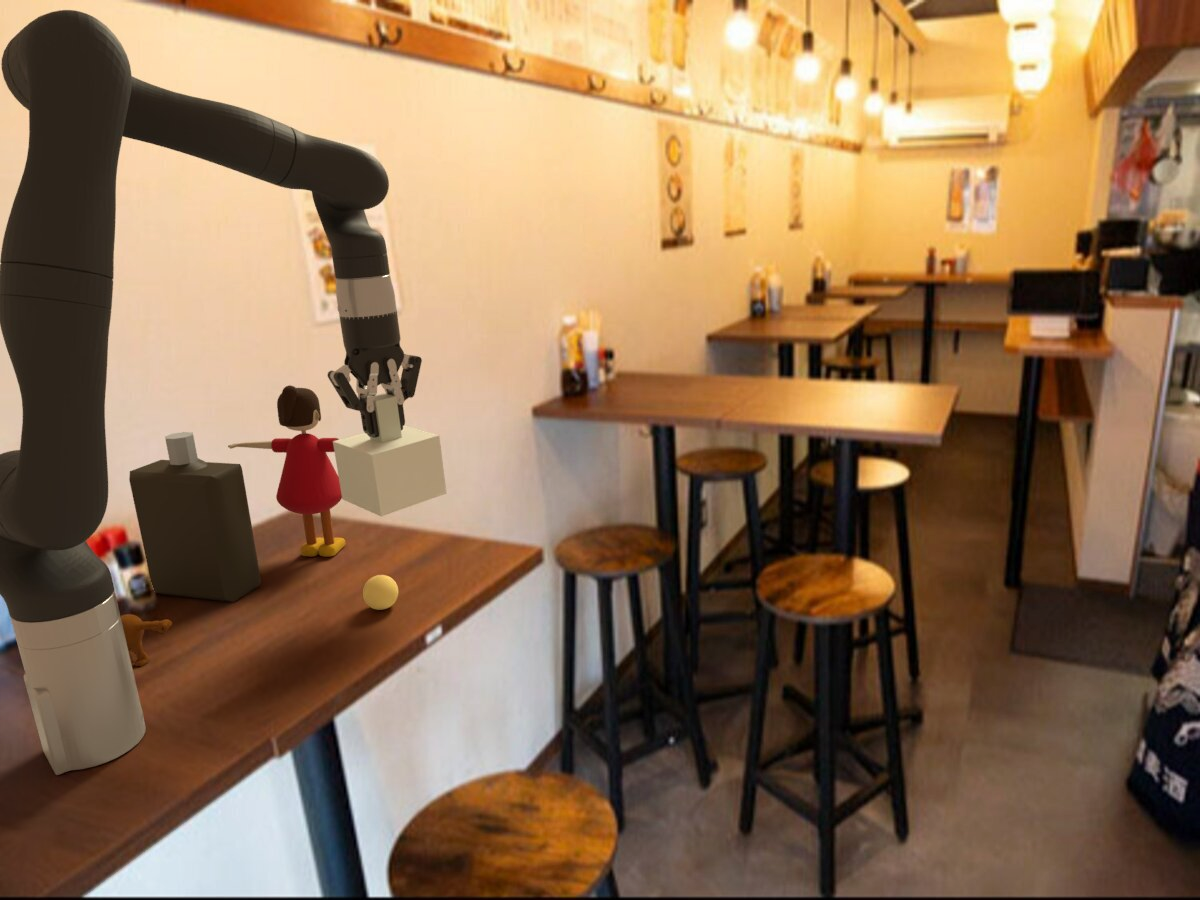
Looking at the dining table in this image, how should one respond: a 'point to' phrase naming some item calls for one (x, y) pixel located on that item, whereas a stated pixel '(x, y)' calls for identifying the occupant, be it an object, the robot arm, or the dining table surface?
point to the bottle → (195, 524)
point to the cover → (390, 464)
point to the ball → (380, 592)
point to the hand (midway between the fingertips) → (385, 432)
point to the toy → (305, 469)
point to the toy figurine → (140, 635)
